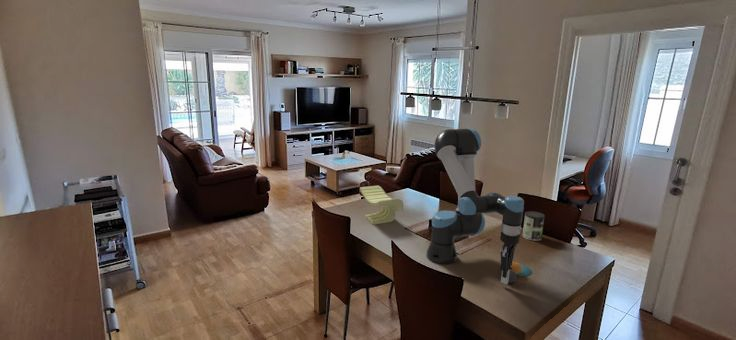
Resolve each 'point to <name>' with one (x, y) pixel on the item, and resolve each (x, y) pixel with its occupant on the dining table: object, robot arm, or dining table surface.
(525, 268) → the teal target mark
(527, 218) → the coffee can
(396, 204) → the slatted curved stool
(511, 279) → the charcoal ball
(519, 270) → the orange ball
